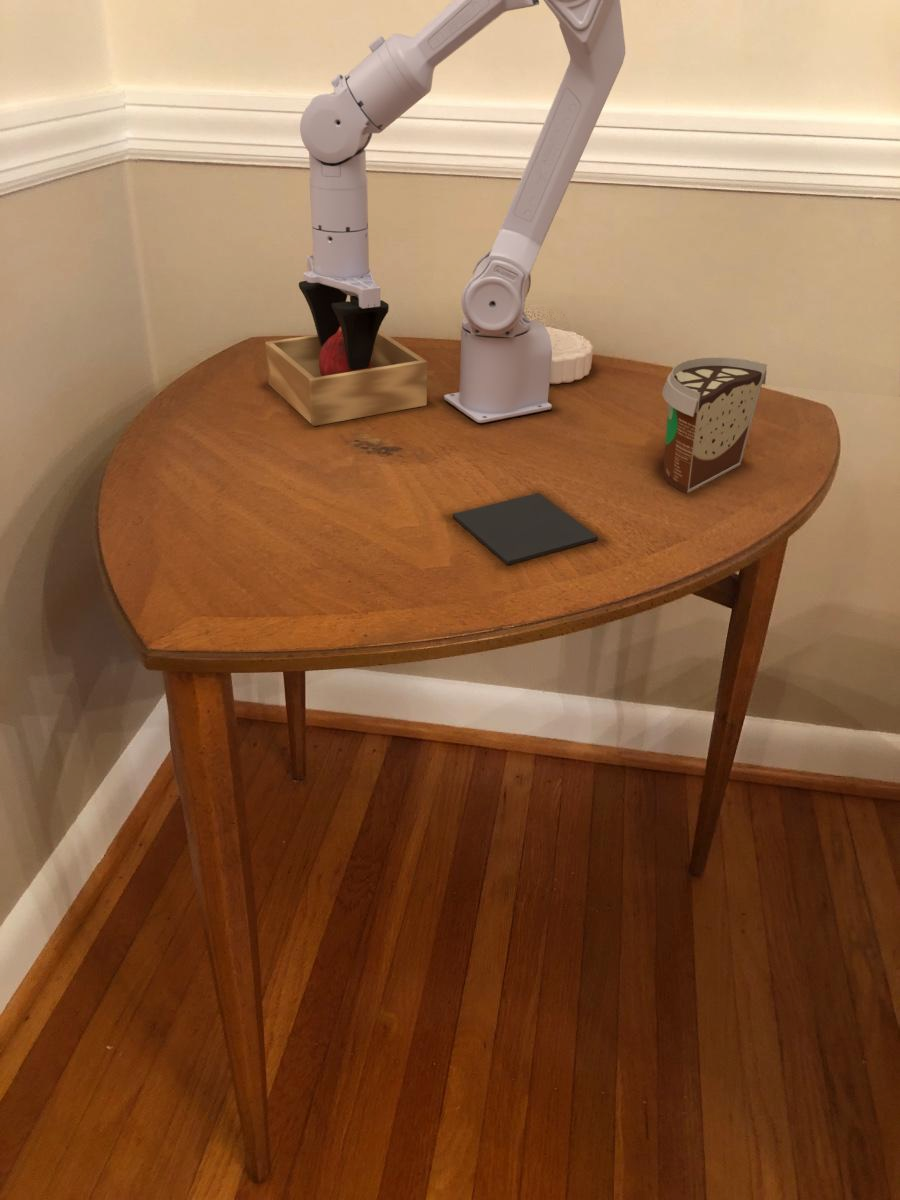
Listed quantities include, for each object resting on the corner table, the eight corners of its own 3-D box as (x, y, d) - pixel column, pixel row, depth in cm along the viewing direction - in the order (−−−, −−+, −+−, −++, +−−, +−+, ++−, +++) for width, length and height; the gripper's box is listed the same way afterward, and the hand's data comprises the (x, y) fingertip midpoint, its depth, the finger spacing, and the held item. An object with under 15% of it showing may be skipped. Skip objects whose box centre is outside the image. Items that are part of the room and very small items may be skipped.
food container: (695, 441, 97) (713, 346, 92) (748, 460, 94) (769, 362, 88) (623, 476, 90) (638, 375, 84) (678, 498, 86) (696, 394, 81)
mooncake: (609, 367, 115) (613, 339, 113) (551, 393, 108) (554, 362, 106) (531, 345, 122) (533, 317, 120) (472, 367, 114) (473, 338, 112)
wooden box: (374, 367, 113) (373, 326, 111) (427, 405, 104) (427, 361, 101) (268, 384, 108) (264, 341, 105) (313, 426, 98) (310, 380, 95)
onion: (363, 407, 103) (362, 334, 98) (313, 401, 104) (309, 329, 99) (377, 388, 108) (376, 318, 103) (329, 383, 108) (326, 314, 104)
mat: (538, 496, 86) (538, 492, 86) (597, 540, 79) (598, 536, 79) (452, 517, 82) (452, 513, 82) (507, 565, 76) (507, 561, 75)
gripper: (277, 215, 99) (285, 342, 107) (332, 245, 89) (337, 383, 96) (338, 210, 102) (343, 334, 110) (398, 239, 92) (399, 373, 99)
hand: (344, 356), depth 103 cm, fingers open, 7 cm apart
